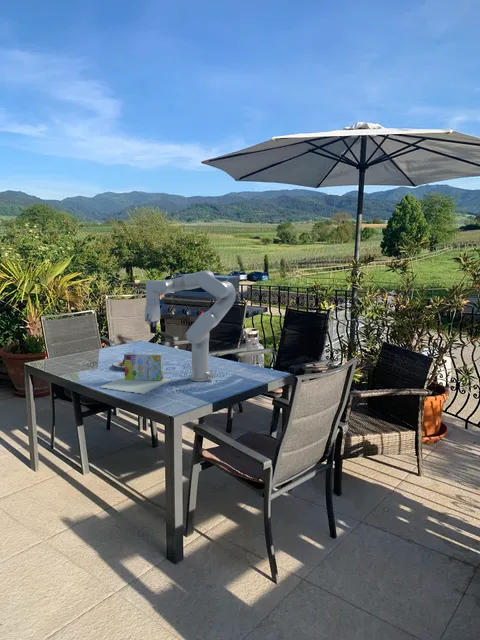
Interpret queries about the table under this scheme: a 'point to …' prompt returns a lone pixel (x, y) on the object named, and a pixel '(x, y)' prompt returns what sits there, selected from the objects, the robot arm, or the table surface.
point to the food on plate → (119, 364)
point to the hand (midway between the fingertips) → (153, 333)
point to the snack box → (143, 366)
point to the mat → (134, 385)
